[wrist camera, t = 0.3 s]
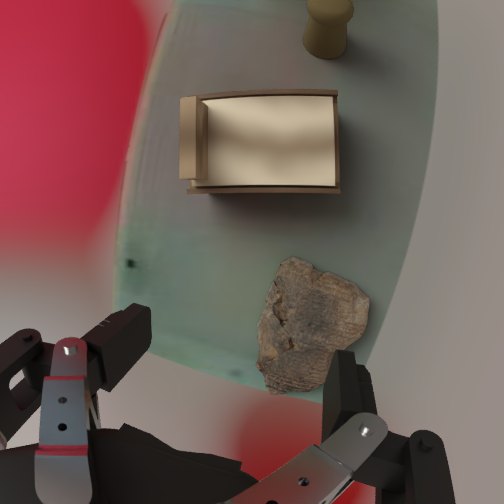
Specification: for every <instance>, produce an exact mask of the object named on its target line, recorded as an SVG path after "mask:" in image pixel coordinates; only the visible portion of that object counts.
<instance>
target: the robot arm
mask: <svg viewBox="0 0 504 504" xmlns="http://www.w3.org/2000/svg"><path fill="white" fill-rule="evenodd" d="M151 339H152V331H151V310H150V308H149V307H146V306H143V305H139V304H136V303H133V304H131V305H130V306H129V307H127V308H126V309H125V310H124V311H122V310H121V311H118V312H115V313H113V314H111V315H109V316H108V317H107V318H106V319H105V320H104V321H102V322H101V323H99V325H97V326H95V327H94V328H93V329H92V330H90V331H89V332H88V333H86V334H85V335H84V336H83V337H81V338H76V337H68V338H64V339H61V340H59V341H58V342H57V343H56V344H51V343H45V342H42V338H41V334H40V333H39V332H38V331H37V330H35V329H23V330H20V331H18V332H16V333H15V334H13V335H12V336H11V337H9V338H8V339H7V340H5V341H4V342H3V343H1V344H0V504H331V503H332V502H333V501H334V500H335V499H336V498H337V497H338V496H340V494H341V493H343V492H344V490H345V489H347V488H348V487H349V486H350V485H351V483H352V482H353V481H358V482H361V483H364V484H367V485H370V486H373V487H376V496H375V497H376V498H375V500H376V501H375V504H456V503H455V497H454V491H453V486H452V480H451V475H450V470H449V465H448V461H447V456H446V452H445V448H444V444H443V441H442V439H441V438H440V437H439V436H438V435H437V434H435V433H433V432H431V431H428V430H418V431H416V432H414V433H413V434H412V435H411V436H410V438H409V437H405V436H402V435H398V434H395V433H392V432H390V431H388V427H387V424H386V422H385V421H384V420H383V419H382V418H381V417H379V416H378V415H377V409H376V403H375V398H374V392H373V386H372V384H371V383H372V381H371V376H370V373H369V372H368V370H367V369H366V368H365V366H364V365H359V364H356V361H355V354H354V352H352V351H346V350H339V349H336V350H335V352H334V355H333V358H332V361H331V364H330V367H329V370H328V373H327V376H326V379H325V383H324V388H323V414H322V440H321V444H320V445H319V446H317V445H315V444H313V445H311V446H310V447H308V448H307V449H305V450H304V451H303V452H301V453H300V454H299V455H297V456H296V457H295V458H293V459H292V460H290V461H289V462H288V463H286V464H285V465H283V466H282V467H281V468H279V469H278V470H276V471H275V472H274V473H272V474H270V475H269V476H267V477H266V478H264V479H263V480H261V481H260V482H259V481H258V480H257V479H255V478H254V477H252V476H250V475H249V474H247V473H245V472H243V471H241V470H240V469H241V465H242V462H240V461H236V460H232V459H227V458H224V457H220V456H216V455H213V454H205V453H194V452H186V451H179V450H175V449H173V448H172V447H170V446H169V445H167V444H165V443H163V442H162V441H160V440H159V439H157V438H156V437H154V436H153V435H151V434H150V433H147V432H144V431H142V430H139V429H137V428H135V427H132V426H130V425H127V424H125V423H124V424H123V425H122V427H121V428H120V429H119V430H117V429H107V428H102V429H101V423H100V414H99V406H98V405H99V404H98V396H97V391H98V390H99V388H101V389H103V390H105V391H108V392H111V390H112V389H113V388H114V387H115V386H116V385H117V384H118V382H119V381H120V380H121V379H122V378H123V377H124V376H125V375H126V373H127V372H128V371H129V370H130V369H131V368H132V367H133V366H134V364H135V363H136V362H137V361H138V360H139V359H140V358H141V356H142V355H143V354H144V353H145V352H146V351H147V350H148V348H149V346H150V344H151ZM21 369H22V371H23V373H24V376H25V377H24V378H23V380H21V381H20V382H19V383H18V384H17V385H16V386H15V387H14V388H13V389H11V390H10V388H9V383H10V380H11V378H12V377H13V376H14V375H16V374H17V373H18V372H19V371H20V370H21ZM40 406H41V412H40V428H39V429H40V430H39V443H36V444H31V445H26V446H21V447H16V448H10V449H6V447H7V442H8V441H9V440H10V439H11V437H12V436H13V435H14V434H15V433H16V432H17V431H18V430H19V429H20V428H21V426H22V425H23V424H24V423H25V422H26V421H27V420H28V419H29V418H30V417H31V415H32V414H33V413H34V412H35V411H36V410H37V409H38V408H39V407H40Z"/></svg>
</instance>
